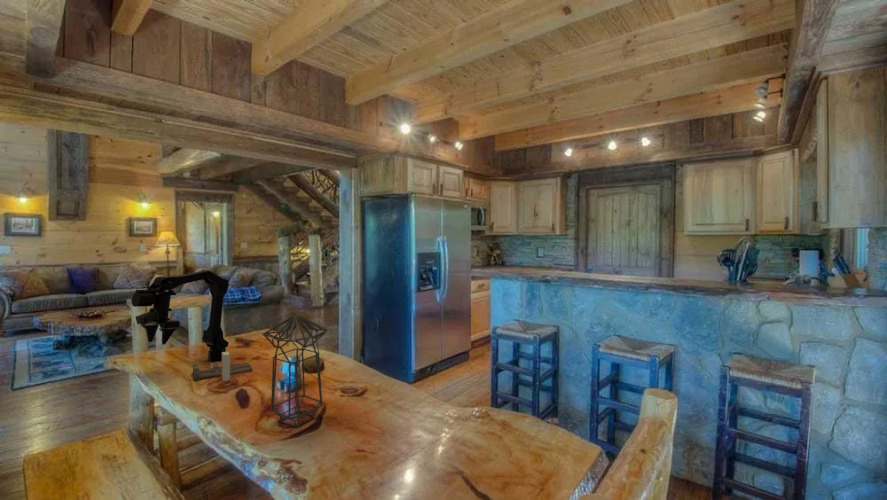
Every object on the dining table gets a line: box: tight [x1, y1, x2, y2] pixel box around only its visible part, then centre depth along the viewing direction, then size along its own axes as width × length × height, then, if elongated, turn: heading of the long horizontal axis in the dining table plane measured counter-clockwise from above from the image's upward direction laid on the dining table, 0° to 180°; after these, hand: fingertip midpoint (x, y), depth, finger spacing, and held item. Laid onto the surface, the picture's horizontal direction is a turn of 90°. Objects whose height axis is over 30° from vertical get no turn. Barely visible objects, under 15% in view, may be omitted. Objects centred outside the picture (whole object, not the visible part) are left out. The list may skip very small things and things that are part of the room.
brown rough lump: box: [301, 356, 325, 374], centre depth 177 cm, size 10×10×8 cm
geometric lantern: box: [261, 314, 329, 428], centre depth 127 cm, size 16×16×35 cm
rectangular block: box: [221, 351, 233, 382], centre depth 164 cm, size 5×3×11 cm, turn 36°
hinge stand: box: [192, 359, 253, 382], centre depth 172 cm, size 11×22×5 cm, turn 126°
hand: (156, 343), depth 164 cm, fingers open, 9 cm apart
